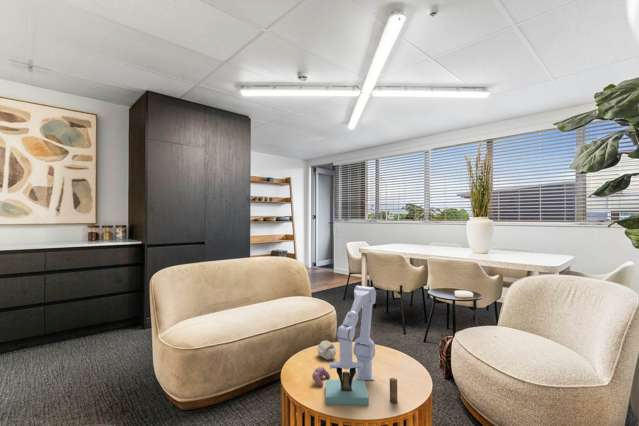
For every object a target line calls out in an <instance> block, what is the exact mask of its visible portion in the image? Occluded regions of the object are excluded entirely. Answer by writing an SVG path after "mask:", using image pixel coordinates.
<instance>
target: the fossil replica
mask: <svg viewBox="0 0 639 426" xmlns="http://www.w3.org/2000/svg"><path fill="white" fill-rule="evenodd" d="M316 350H317V354H318V356H320V357H322V358H323V359H324V360H334V359H335V356H336V354H337V349H336V347H335V345H334V344H333V342H331V341H329V340H328V339H327V340H322V341H321V342H320V343H319V345H318V346H317V348H316Z"/></svg>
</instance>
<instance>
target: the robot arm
mask: <svg viewBox="0 0 639 426" xmlns="http://www.w3.org/2000/svg"><path fill="white" fill-rule="evenodd" d="M376 297H377V291H376V288H375V287H374V286H372V287H371V286H364V285H356V286H355V287H354V289H353V298H354V300H353V303H352V305H351V308H350V311H348V312H347V313H346V316H345V318H344V320H343V321H342V324H341V325H340V326H338V328H337V330H336V337H337V340H338V343H339V347H338V348H339V349H338V350H339V361H331V362H329V369H330V370H332V369H336V373H337V375H338V378H339V380H340V382H341V386H343V382H342V373H343V369H344V370H349V373H350V386H351V385H352V380H354V377H355V375H356V380H365V381H373V380H374V379H375V378H374V375H373V371H372V370H373V368H372V367H373V365H372V364H373V362H372V361H373V359H374V358H375V356H376V349H375V348H376V343H375V341H373V340H372V339H371V328H372V327H371V326H372V314H373V305H374V304H376V299H377V298H376ZM361 309H362V310H361ZM360 311H361V318H360V317H359V313H360ZM359 318H360V319H361V321H360V331H359V333H360V334H359V337H358V338H356V339H354V338H355V334H356V333H355V332H356V326H357V323H358V321H359ZM353 340H354V344H353ZM353 355H354V356H355V358H356V361H353Z"/></svg>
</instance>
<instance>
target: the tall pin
mask: <svg viewBox="0 0 639 426" xmlns="http://www.w3.org/2000/svg"><path fill="white" fill-rule="evenodd" d="M389 402H390V403H391V404H398V402H399V401H398V379H397V378H395V377H391V378H389Z"/></svg>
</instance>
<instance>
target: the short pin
mask: <svg viewBox="0 0 639 426" xmlns="http://www.w3.org/2000/svg"><path fill="white" fill-rule="evenodd" d="M342 380H343V391H349V390H350V371H342Z"/></svg>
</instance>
